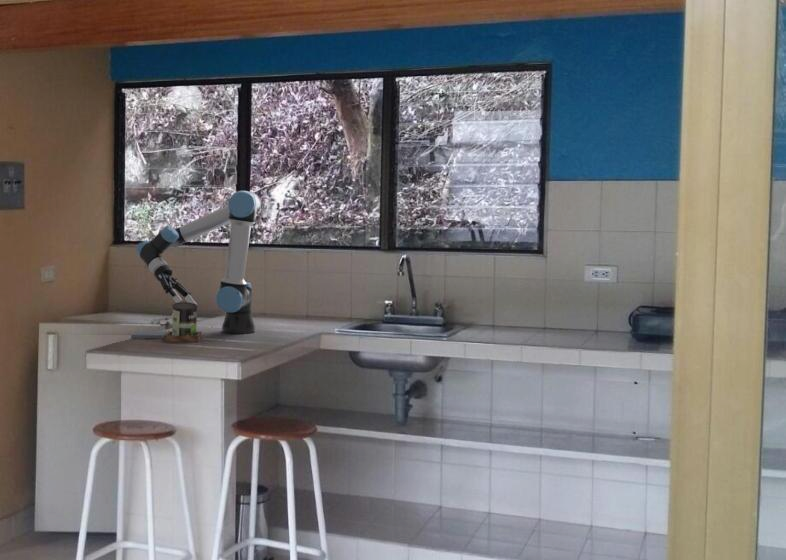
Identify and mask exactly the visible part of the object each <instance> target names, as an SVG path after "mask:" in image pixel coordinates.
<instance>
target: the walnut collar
mask: <svg viewBox="0 0 786 560" xmlns="http://www.w3.org/2000/svg"><path fill="white" fill-rule="evenodd" d="M202 336H203V335H202V331H196V336H194V335H172V331H166V334H165V335H164V337H163V342H164V343H165V342H166V343H167V342H169V343H170V342H171V343H172V342H173V343H175V342H176V343H181V342H182V343H186V342H187V343H191V342H192V343H193V342H194V343H195V342H197V343H198V342H200V340H201V339H202Z"/></svg>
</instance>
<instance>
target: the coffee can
mask: <svg viewBox="0 0 786 560" xmlns="http://www.w3.org/2000/svg"><path fill="white" fill-rule="evenodd" d="M196 304H197V303H196ZM196 304H194V303H189V302H187V301H186V302H184V301H183V302H182V301H180V302H179V303H176V302H175V303H173V304H172V306H171V307H172V320H171V321H172V325H171V328H172V330H171V332H172V335H194V336H196V332H197V321H198V320H197V315H198V313H197V312H198V304H197V305H196Z"/></svg>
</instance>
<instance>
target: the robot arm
mask: <svg viewBox="0 0 786 560" xmlns="http://www.w3.org/2000/svg"><path fill="white" fill-rule="evenodd" d="M261 209H262V200H261V198H260V197H259V195H258V194H256V193H255V192H253V191H248V190H238V191H236V192H234V193H233V194H231V196H230V197H229V200H228V203H227V205H225V206H223V207H222V208H219V209H217V210H215V211H211V212H210V213H207V214H206V215H203V216H202V217H199V218H197V219H195V220H192V221H190V222H187V223H186V224H183V225H181V226H179V227H176V228H174V227H173V226H171V225H167V226H164V227H163V228H162V229H161V231H159V233H158V234H156V235H155V236H154V238H152V239H151V240H146V239H145V240H143V241H142V242H139V243H138V244H137V247H136V253H137V254H138V256H139V258H140V259H141V260H142V261H143V263H144V264H145V265H146V266H147V268H148V269H149V272H150V273H152V274H153V275H154V277H155V278H156V280H157V281H158V282H160V285H161V286H162V289H163V291H164V292H165V294H169V295H170V297H171V299H173V301H174V302H175V303H180V302H182V301H183V299H182V298H181V297H180V295H179V294H181V296H182V297H183V298H184V300H185V301H186V302H189V303H194V304H196V305H197V306H198V303H197V302H196V301H195V300H194V299H193V297H192V296H191V295H192V292H190V291H189V290H188V289H187V288H186V287H185V285H183V284H182V283H181V282H180V281H179V280H178V279H177V278H175V277H174V276H172V275H173V269H172V268H171V267H170V266H169V265H168V263H167V262H166V261H165V259H164V258H163V256H162V255H163V254H164V253H165V252H166V251H167V250H168V249H169V248H177V247H180V246H181V245H182V244H185V243H187V242H189V241H191V240H194V239H196V238H198V237H200V236H203V235H205V234H207V233H210V232H212V231H214V230H217V229H219V228H221V227H223V226H226V225H228V224H230V223H231V225H230V226H231V227H230V232H229V241H228V249H227V255H226V256H227V258H226V265H225V273H224V277H223V278H222V279H221V280H220V285H219V290H218V291H217V294H216V297H215V301H216V305H217V306H218V308H219V309H220V310H221V311H223V312H225V316H224V319H223V323H222V326H221V332H222V333H227V334H251V333H255V332H256V326H255V323H254V320H253V316H252V292H253V291H252V290H253V288H252V283H250V281H249V282H247V281H245V275H246V268H247V262H248V261H247V258H248V254H249V253H248V252H249V244H250V236H251V228H252V226H253V225H254V224H256V218H257V215H258V214H259V212H260V211H261ZM177 292H178V293H179V294H178V293H177Z"/></svg>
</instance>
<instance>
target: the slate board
mask: <svg viewBox="0 0 786 560" xmlns="http://www.w3.org/2000/svg"><path fill="white" fill-rule="evenodd" d="M166 333H167V331H147V330H146V331H145V330H143V331H139V330H138V331H134V332H133V333H132V334H131V335H130V339H133V340H135V339H137V340H141V339H143V340H144V339H145V338H154V340H156V339H155V338H159V340H163V339H164V335H165V334H166Z"/></svg>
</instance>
